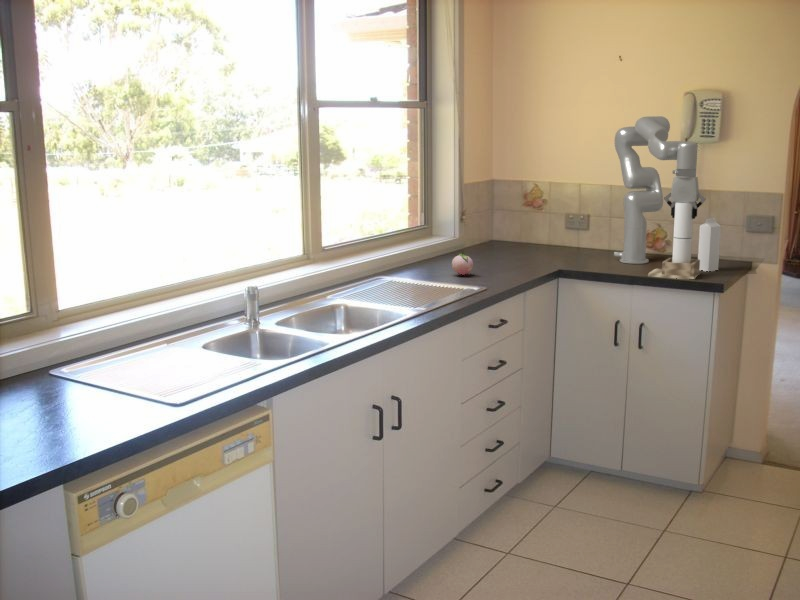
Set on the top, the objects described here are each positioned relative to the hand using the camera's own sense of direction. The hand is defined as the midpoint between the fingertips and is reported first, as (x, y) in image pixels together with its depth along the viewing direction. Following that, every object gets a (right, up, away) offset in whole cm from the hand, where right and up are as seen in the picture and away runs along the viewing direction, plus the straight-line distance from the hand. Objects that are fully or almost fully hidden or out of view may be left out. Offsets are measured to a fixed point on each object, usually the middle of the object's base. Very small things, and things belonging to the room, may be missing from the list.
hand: (683, 217), depth 345 cm
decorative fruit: (-89, -23, +11) cm, 92 cm away
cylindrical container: (0, -19, +4) cm, 19 cm away
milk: (+16, -21, +17) cm, 31 cm away
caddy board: (-2, -23, +6) cm, 24 cm away
